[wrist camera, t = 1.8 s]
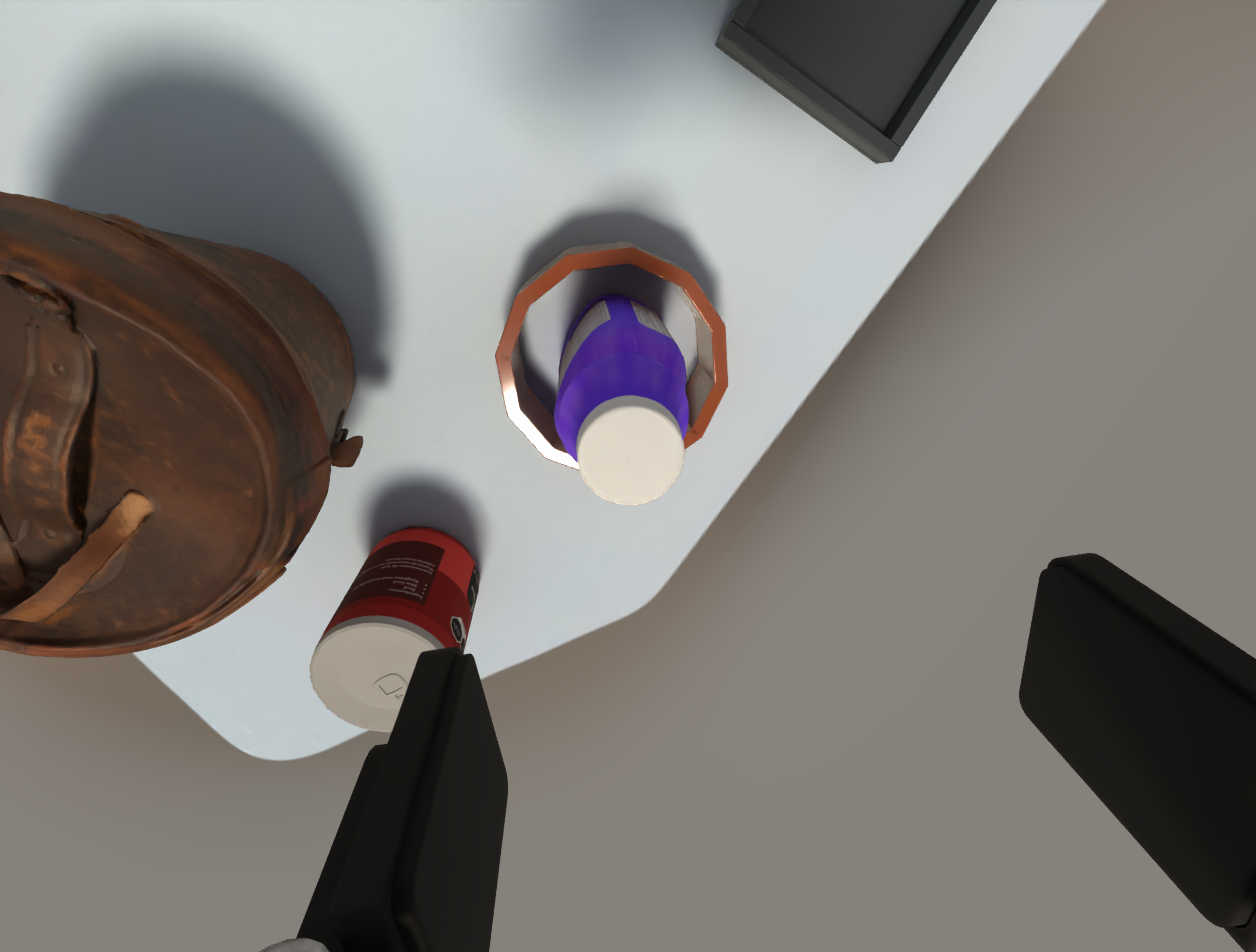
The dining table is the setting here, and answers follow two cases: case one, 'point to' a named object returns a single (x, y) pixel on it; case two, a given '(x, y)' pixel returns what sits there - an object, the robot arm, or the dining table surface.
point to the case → (153, 428)
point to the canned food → (394, 624)
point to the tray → (855, 59)
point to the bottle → (623, 401)
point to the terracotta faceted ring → (709, 326)
